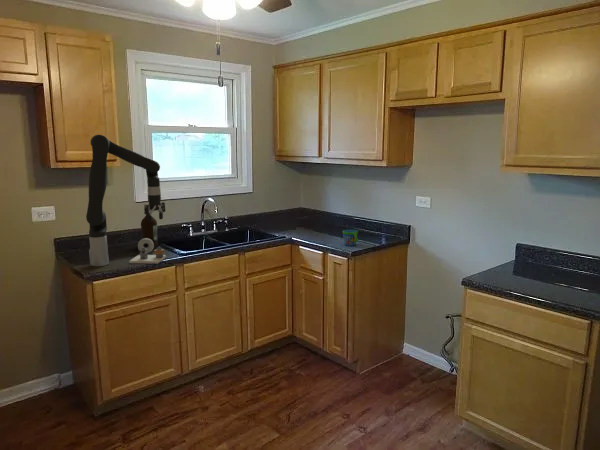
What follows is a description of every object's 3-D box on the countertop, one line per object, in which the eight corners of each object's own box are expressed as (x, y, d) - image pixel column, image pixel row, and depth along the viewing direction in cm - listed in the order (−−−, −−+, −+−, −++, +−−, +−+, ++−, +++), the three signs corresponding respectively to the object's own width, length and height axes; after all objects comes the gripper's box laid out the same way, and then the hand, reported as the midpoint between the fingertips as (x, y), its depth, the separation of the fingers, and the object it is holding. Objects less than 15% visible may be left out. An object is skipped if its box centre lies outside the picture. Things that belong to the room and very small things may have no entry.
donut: (154, 251, 292) (153, 237, 290) (154, 253, 289) (153, 238, 287) (138, 253, 288) (136, 238, 286) (138, 254, 285) (137, 239, 283)
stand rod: (139, 259, 269) (138, 248, 268) (141, 257, 273) (141, 246, 272) (146, 259, 269) (145, 248, 268) (149, 257, 273) (148, 247, 272)
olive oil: (140, 247, 304) (137, 211, 299) (145, 243, 314) (142, 208, 310) (155, 247, 304) (153, 211, 299) (160, 243, 315) (158, 208, 310)
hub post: (154, 258, 272) (154, 247, 270) (157, 256, 276) (156, 245, 275) (161, 258, 271) (161, 247, 270) (164, 256, 276) (163, 245, 274)
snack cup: (338, 243, 316) (338, 229, 314) (352, 242, 319) (352, 228, 317) (347, 248, 301) (348, 233, 299) (361, 247, 305) (362, 232, 303)
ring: (159, 254, 269) (158, 251, 269) (152, 253, 272) (151, 250, 272) (166, 252, 274) (166, 249, 274) (159, 251, 277) (159, 248, 277)
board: (129, 263, 266) (129, 260, 265) (139, 257, 279) (138, 254, 279) (157, 263, 265) (157, 261, 265) (165, 257, 279) (165, 255, 278)
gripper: (149, 195, 263) (150, 222, 266) (167, 193, 275) (168, 219, 278) (140, 194, 266) (141, 221, 269) (158, 192, 278) (160, 217, 281)
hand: (155, 220), depth 274 cm, fingers open, 8 cm apart
